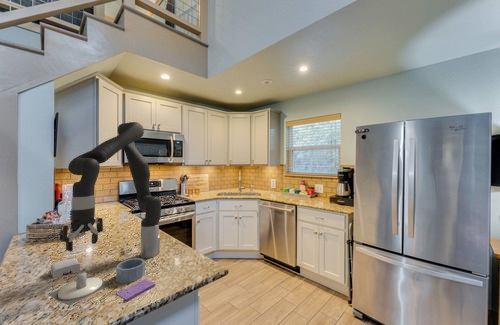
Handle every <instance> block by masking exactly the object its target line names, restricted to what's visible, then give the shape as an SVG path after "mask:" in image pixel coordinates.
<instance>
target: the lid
mask: <svg viewBox="0 0 500 325" xmlns="http://www.w3.org/2000/svg"><path fill="white" fill-rule="evenodd" d="M87 274H88V273H87V272H80V273H78V274H76V280H75V281H73V282H70V283H68V284H66V285H65V286H62V287H61V288H62V289H61V288H59V289H60V291H59V292H58V298H59V299H62V300H72V299H77V298H81V297H84V296H87V295H89V294H91V293H93V292H95V291H97V290H98V289H99V288H100V287H101V286H102V283H103V281H104V280H103V279H102V278H101V277H95V278H87V277H88V276H87ZM102 280H103V281H102ZM97 292H98V291H97ZM95 293H96V292H95ZM93 294H94V293H93ZM91 295H92V294H91ZM89 296H90V295H89ZM87 297H88V296H87Z"/></svg>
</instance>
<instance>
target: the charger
mask: <svg viewBox="0 0 500 325" xmlns="http://www.w3.org/2000/svg"><path fill="white" fill-rule="evenodd" d="M80 271H81V263H80V262H79V261H78V260H77V258H74V257H73V258H70V259H65V260H64V259H63V260H61V261H58V262H55V263H52V264H51V265H50V274H51V276H52V278H53V279H56V278H60V277H62V276H63V275H66V274H68V273H71V274H73V273H76V272H80Z"/></svg>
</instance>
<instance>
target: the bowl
mask: <svg viewBox="0 0 500 325" xmlns="http://www.w3.org/2000/svg"><path fill="white" fill-rule="evenodd" d="M115 270H116V272H115V276H116V277H115V278H116V279H115V280H116V282H117V283H119V284H130V283H134V282H138V281H139V280H141V279H142V278H143V277H144V276H145V274H146V260H145V258H141V257H140V258H138V257H137V258H129V259H125V260H123V261H121V262H118V264H117V265H116V269H115Z"/></svg>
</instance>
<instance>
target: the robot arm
mask: <svg viewBox="0 0 500 325" xmlns="http://www.w3.org/2000/svg"><path fill="white" fill-rule="evenodd" d="M144 129H145V128H144V127H143V125H142V124H141V123H139V122H137V121H131V122H123V123H120V124H119V125H118V126H117V134H118V135H116V136H114V137H112V138H111V137H110V139H109V138H108V139H107V140H105V141H103V142H101V143H99V144H98V145H97V146H95V147H94V148H92V149H91V150H89V151H87V152H84V153H83V154H80V155H78V156H76V157H74V158H72V159H71V160H70V162H69V163H68V165H67V169H68V171H69V172H70V174H72V175H76V176H81V177H80V180H79V181H76V182H74V183H73V184H72V196H71V209H70V211H71V215H70V216H71V220H70V221H71V222H70V224H62V225H60V230H59V242H63V243H65V250H66V251H68V252H73V250H74V242H73V240H75V239H74V238H75V236H77V235H78V233H83V232H85V233H87V232H90V233H91V244H93V245H95V244H97V242H98V239H99V238H98V237H99V234H100V233H102V232H104V223H103V220H104V219H103V218H102V217H96V216H95V212H96V198H95V189H96V188H95V185H96V182H97V180H98V176H99V174H100V169H101V168H100V165H101V164H103V163H106V162H107V161H108V160H109V159H110V158H112V157H113V156H114V155H115V154H117V153H118V152H120V151H121V150H122V149H123V150H124V153H125V154H124V155H125V156H126V160H127V163H128V166H129V171H130V176H131V178H132V181H133V184H134V188H135V193H136V197H137V206H138V208H139V210H140V211H142V212H144V214H145V215H144V219H141V222H140V252H139V255H140V259H150V258H154V257H156V256H158V255H159V254H160V252H161V236H160V235H159V234H160V231H159V229H160V219H161V217H162V216H161V213H162V203H161V199H160V198H159V197H157V196H152V194H151V191H150V186H149V184H150V180H151V171H150V167H149V163H148V161H147V159H146V158H145V157H144V156H143V155H142V154H141V152H140V151H139V150H138V148H137V146H136V144H135V142H136V141H138V140H139V139H141V138H143V136H144V133H145V130H144ZM95 217H96V218H95ZM94 224H96V227H95V226H94ZM70 228H71V229H72V230H71V229H70ZM70 230H71V231H70ZM68 231H69V233H68Z"/></svg>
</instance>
